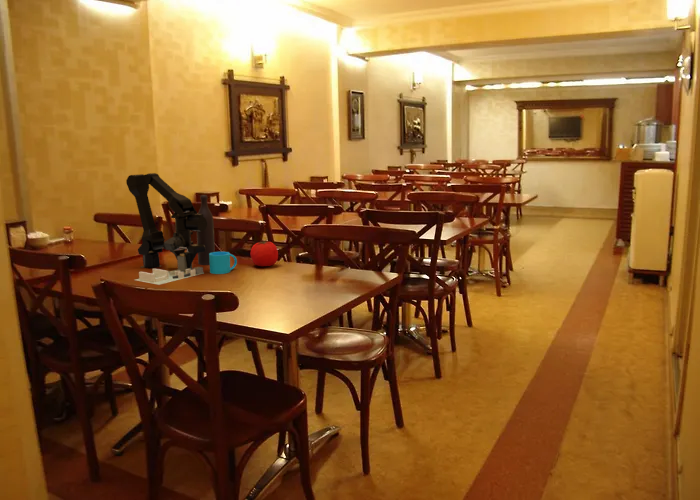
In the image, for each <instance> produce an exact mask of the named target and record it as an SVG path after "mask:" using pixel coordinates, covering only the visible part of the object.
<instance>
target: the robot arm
mask: <svg viewBox="0 0 700 500" xmlns="http://www.w3.org/2000/svg"><path fill="white" fill-rule="evenodd" d="M125 180H126V182H125V183H126V187H127V188H128V191H129V192H130V193H131V194H132V195H133V196H134V198H135V202H136V206H137V209H138V214H139V218H140V220H141V221H140V222H141V226H142V228H143V232H142V236H141V242H142V243H141V244H140V245H139V247H138V249H137V253H138V255H141V256H142V261H143V262H142V264H143V265H142V266H140V269H142V268H143V269H157V268H159V267H162V265H160V254H159V253H162V252H163V250H166V251H169V253H172V254H173V255H174V256H175V258H176V260H177V256H179V255H180V254H182V253H184V254H185V256H186V262H187V268H190V267H191V265H192V266H193V262H194V260H195V258H196V257H197V255H198V253H199V252H204V251H205V246H204V245H203V244H197V243H194V241H193V240H192V237H191V235H194V232H197V231H205V230H206V228H207V221H206V219H205V218H204V217H203V214H198V212H197V210H196V208H195V206H194V205H193V202H192V200H191V199H190V198H189V197H187V196H185V195H184V194H181V193H179V192H177V191H175V189H173V187H171V186H170V185H169V184H168V183H167V182H166V181H165V180H164V179H162V178H161V177H160V175H159V174H158V173H156V172H151V173H146V174H144V173H143V174H142V173H141V174H130V175H128V177H127V179H125ZM150 186H151V187H152V188H153V189H155V191H156V192H158V194H160V195H161V196H162V197H163V198H164V199H165V200H166V201H167V204H168V207H169V209H171V210H172V211H173V214H172V215H171V216H170V218H171V219H174V222H175V232H173V234H172V237H170V238H168V239H165V237H164V232H163V231H162V230H159V229H157V226H156V223H155V222H156V221H155V219H154V215H153V211H152V208H151V204H150V200H149V195H148V194H149V191H150Z"/></svg>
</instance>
